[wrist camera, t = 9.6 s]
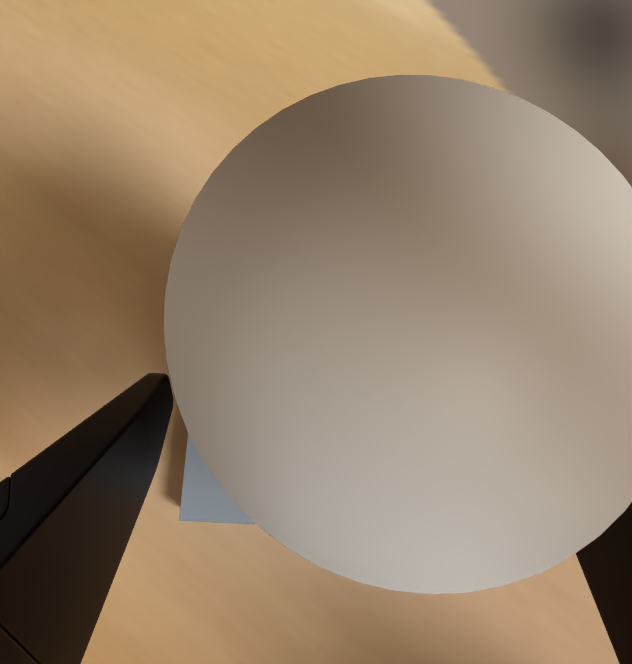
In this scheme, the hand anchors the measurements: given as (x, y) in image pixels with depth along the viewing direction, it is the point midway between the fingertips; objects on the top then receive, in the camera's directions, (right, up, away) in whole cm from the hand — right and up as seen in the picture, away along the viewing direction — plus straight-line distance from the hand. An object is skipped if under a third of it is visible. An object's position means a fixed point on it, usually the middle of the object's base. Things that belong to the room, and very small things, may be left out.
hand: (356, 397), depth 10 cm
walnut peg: (0, 0, +8) cm, 8 cm away
